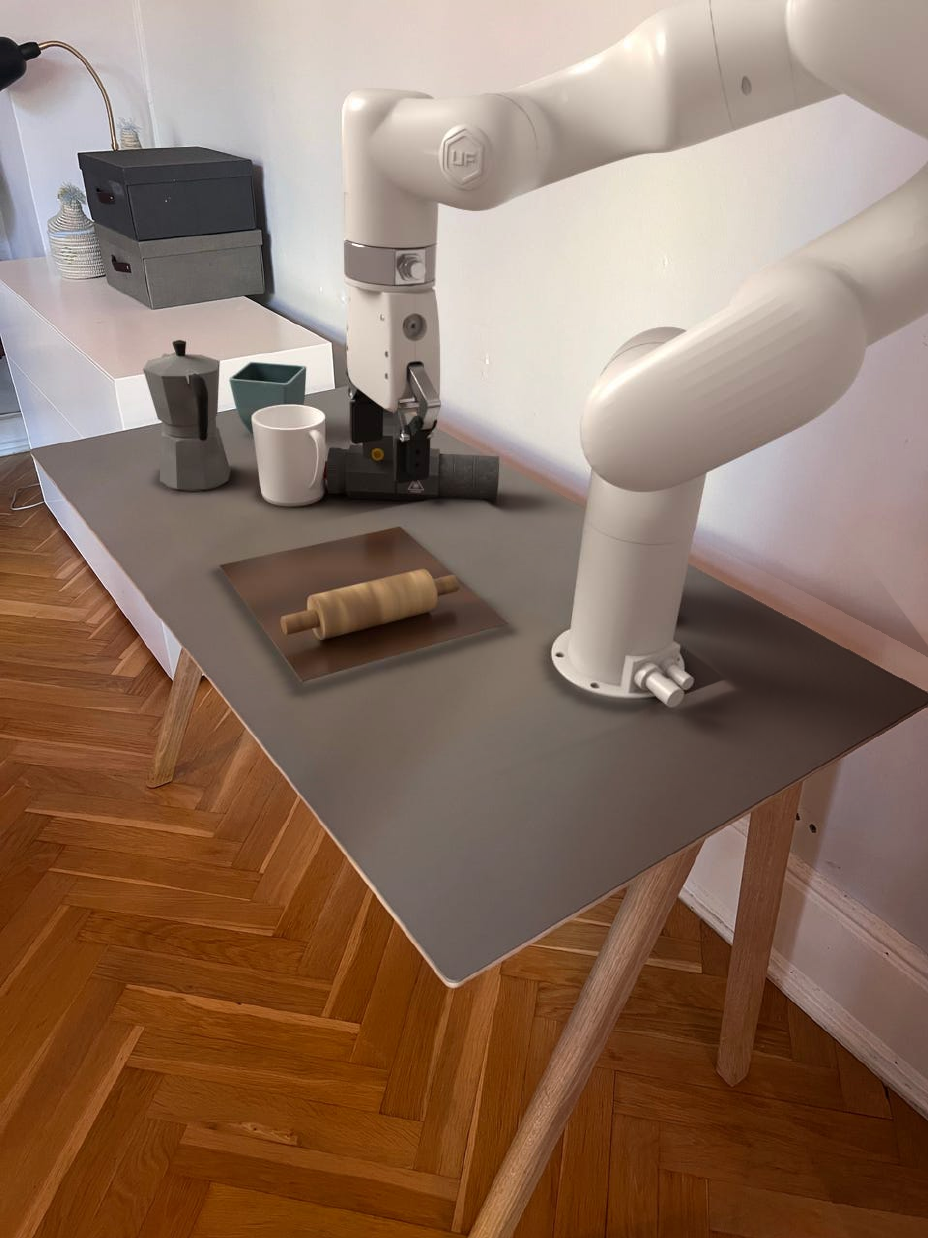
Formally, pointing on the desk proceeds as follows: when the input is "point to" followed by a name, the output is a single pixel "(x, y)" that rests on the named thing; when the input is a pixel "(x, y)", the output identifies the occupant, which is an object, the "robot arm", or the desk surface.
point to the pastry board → (341, 563)
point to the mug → (290, 454)
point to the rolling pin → (370, 604)
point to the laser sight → (449, 476)
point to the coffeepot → (188, 419)
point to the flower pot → (266, 388)
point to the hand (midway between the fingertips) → (388, 459)
